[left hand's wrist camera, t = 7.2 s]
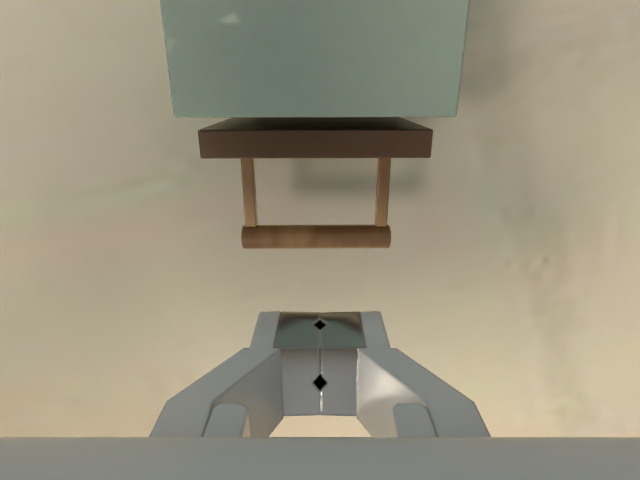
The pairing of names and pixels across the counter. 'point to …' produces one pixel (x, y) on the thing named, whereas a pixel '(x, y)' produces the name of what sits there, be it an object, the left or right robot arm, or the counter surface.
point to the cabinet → (314, 57)
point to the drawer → (315, 142)
